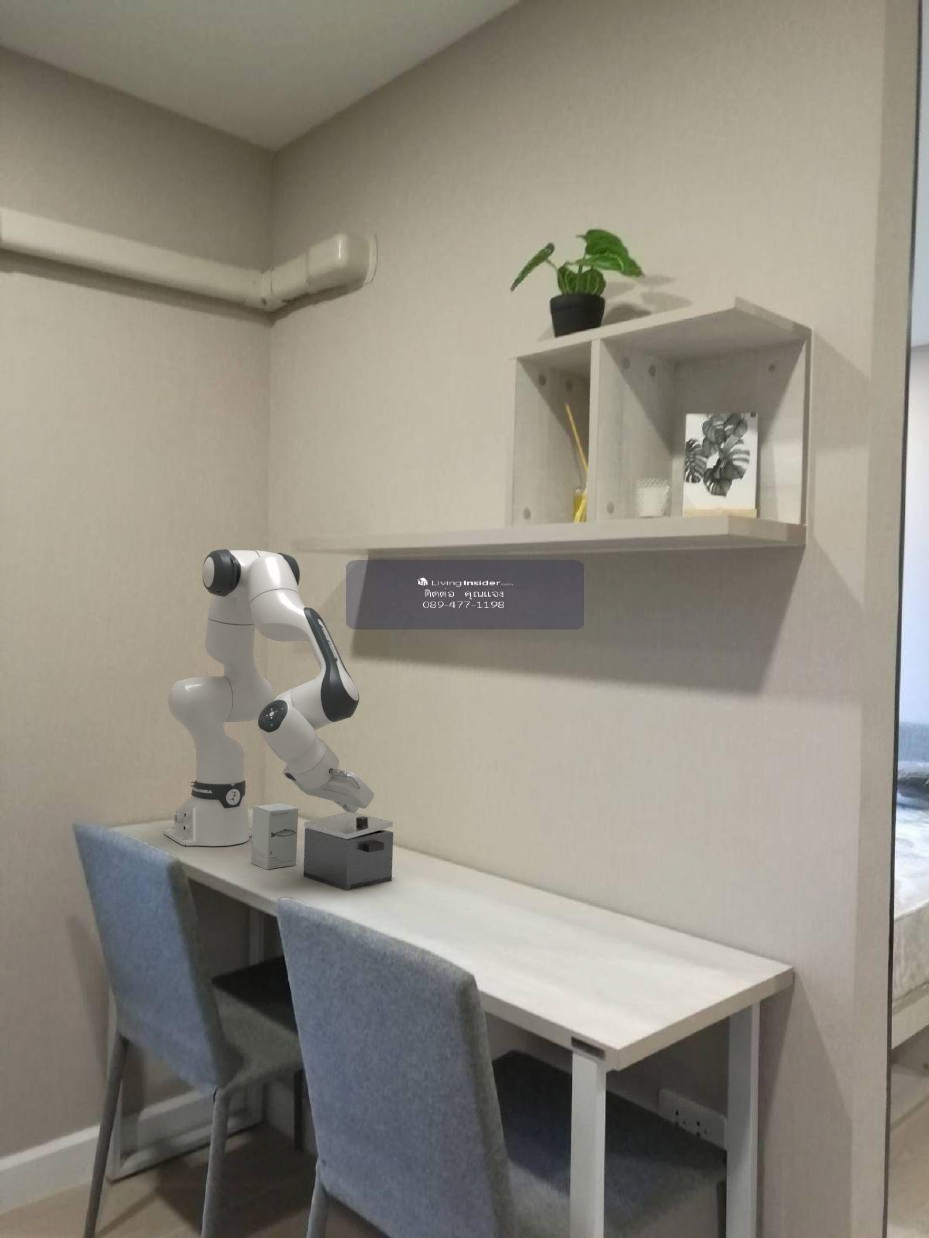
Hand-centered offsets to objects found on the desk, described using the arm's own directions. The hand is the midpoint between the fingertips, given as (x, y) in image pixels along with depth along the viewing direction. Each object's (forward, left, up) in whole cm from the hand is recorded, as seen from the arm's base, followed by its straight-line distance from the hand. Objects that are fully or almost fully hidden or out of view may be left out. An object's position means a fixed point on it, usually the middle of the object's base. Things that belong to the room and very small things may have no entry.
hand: (352, 809), depth 205 cm
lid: (0, -1, -3) cm, 4 cm away
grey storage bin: (0, -1, -14) cm, 14 cm away
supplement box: (-19, -6, -14) cm, 24 cm away
